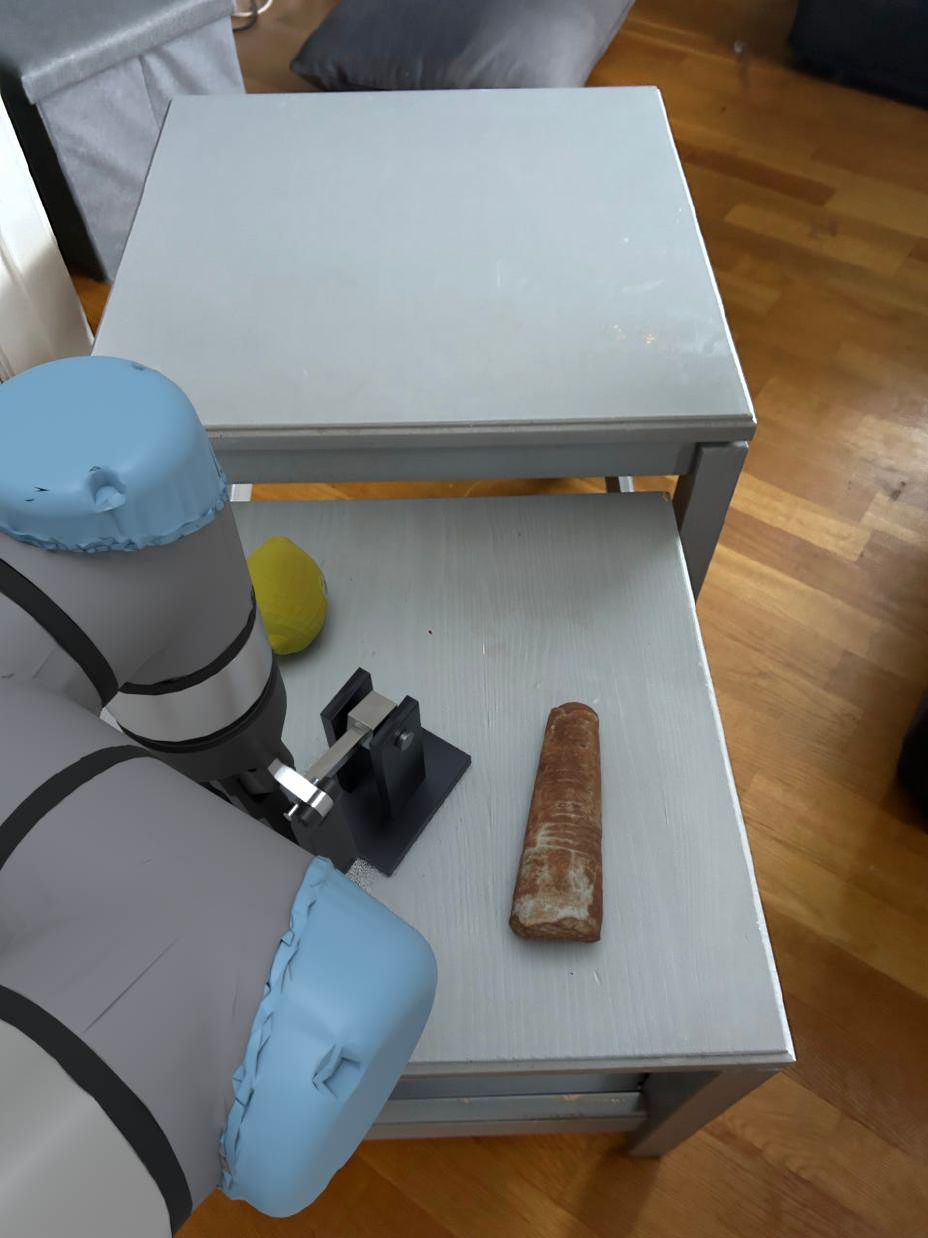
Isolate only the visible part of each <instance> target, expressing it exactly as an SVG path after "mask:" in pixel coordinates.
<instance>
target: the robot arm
mask: <svg viewBox="0 0 928 1238" xmlns="http://www.w3.org/2000/svg"><path fill="white" fill-rule="evenodd" d="M227 480H228V479H227V476H226V474H225V473H224V470H223V469H222V467H221V465H220V464H219V462H218V460H217V457H216V455H215V451H214V449H213V447H212V444H211V441H210V439H209V436H208V433H207V431H206V428H205V427H204V425H203V424H202V422H201V420H200V418H199V415H198V413H197V411H196V408H195V406H194V405H193V403H192V402H191V400H190V398H189V397H188V396H187V393H185V392H184V390H183V389H182V387H180V386H179V385H178V384H177V383H176V382H175V381H173V380H172V379H170V378H169V377H168V376H166V375H164V374H163V373H161V371H159V370H157V369H154V368H151V367H149V366H146V365H144V364H142V363H139V362H138V361H135V360H131V359H127V358H122V357H117V356H110V355H81V356H71V357H66V358H60V359H57V360H52V361H48V362H45V363H42V364H39V365H36V366H34V367H31V368H29V369H26V370H24V371H22V372H19V374H17V375H14V376H11V378H9V379H7V380H6V381H4V382H2V383H1V384H0V1238H174V1237H175V1236H176V1235H177V1233H178V1232H179V1231H180V1230H181V1228H182V1227H183V1226H184V1224H185V1223H186V1222H187V1221H188V1219H189V1218H190V1217H191V1215H192V1213H193V1212H194V1211H195V1210H196V1209H197V1208H198V1207H199V1206H200V1205H201V1204H202V1203H203V1202H204V1201H205V1200H206V1199H207V1198H208V1197H209V1196H210V1195H211V1193H213V1192H214V1191H215V1189H218V1190H219V1191H220V1192H222V1193H223V1194H224V1195H225V1196H226V1197H227V1198H229V1200H231V1201H238V1200H239V1201H245V1202H246V1203H248V1204H249V1205H250V1206H252V1207H253V1208H254V1209H256V1210H257V1211H259V1212H260V1213H261V1214H264V1215H267V1216H269V1217H271V1218H281V1219H282V1218H287V1217H288V1218H289V1217H292V1216H293V1215H296V1214H298V1213H300V1212H301V1211H302V1210H304V1209H305V1208H307V1207H309V1206H310V1205H312V1204H313V1203H314V1202H315V1200H317V1198H318V1197H319V1196H320V1195H321V1194H322V1193H323V1192H324V1191H325V1190H326V1188H327V1187H328V1185H329V1184H330V1181H331V1180H332V1178H333V1177H334V1175H335V1174H336V1173H337V1171H339V1170H340V1169H342V1168H343V1167H344V1165H346V1163H347V1162H348V1161H349V1159H351V1157H352V1156H353V1154H354V1153H355V1152H356V1150H357V1148H358V1147H359V1145H360V1144H361V1142H362V1141H363V1140H364V1138H365V1137H366V1135H367V1133H368V1132H369V1130H370V1129H371V1127H372V1125H374V1122H375V1121H376V1119H377V1118H378V1116H379V1114H380V1113H381V1111H382V1110H383V1108H384V1106H385V1105H386V1103H387V1101H388V1099H389V1098H390V1096H391V1094H392V1092H393V1091H394V1089H395V1087H396V1085H397V1083H398V1082H399V1080H400V1078H401V1076H402V1074H403V1073H404V1071H405V1070H406V1068H407V1066H408V1064H409V1061H410V1060H411V1058H412V1056H413V1054H414V1052H415V1049H416V1047H417V1046H418V1044H419V1041H420V1039H421V1037H422V1034H423V1033H424V1031H425V1028H426V1025H427V1023H428V1020H429V1017H430V1015H431V1012H432V1009H433V1006H434V1002H435V997H436V992H437V986H438V977H439V970H438V962H437V959H436V956H435V953H434V950H433V949H432V946H431V945H430V943H429V942H428V940H427V939H426V938H425V937H424V935H423V934H422V933H421V932H420V931H419V930H418V929H417V928H416V927H414V926H413V925H411V924H410V923H409V922H407V921H406V920H404V919H403V918H402V917H401V916H399V915H398V914H397V913H395V911H393V910H391V909H390V908H389V907H388V906H387V905H385V904H384V903H382V902H381V901H380V900H379V899H377V898H376V897H374V896H373V895H372V894H371V893H370V892H368V891H367V890H365V889H364V888H363V887H361V886H360V885H359V884H357V882H355V881H354V880H353V879H352V878H350V877H349V876H347V874H348V872H350V870H351V868H352V867H353V866H354V864H355V863H356V862H357V860H358V859H359V858H360V857H359V854H358V851H357V848H356V845H355V843H354V840H353V837H352V834H351V832H350V829H349V826H348V823H347V821H346V818H345V815H344V812H343V810H342V807H341V804H340V801H339V800H340V797H341V795H342V793H343V789H342V787H341V786H340V785H339V783H338V782H337V781H336V780H335V779H333V778H331V777H327V776H324V777H323V778H322V779H321V780H320V779H319V778H317V777H313V778H312V779H311V780H310V782H309V781H308V780H306V779H305V778H304V777H302V776H303V775H301V774H300V773H299V772H297V771H298V770H297V768H296V766H295V758H294V755H293V754H292V752H291V751H290V749H288V747H287V746H286V745H285V743H284V742H283V739H282V736H283V731H284V726H285V720H286V715H287V707H288V697H287V690H286V686H285V682H284V679H283V676H282V673H281V669H280V666H279V663H278V660H277V656H276V654H275V652H274V650H273V648H272V646H271V643H270V640H269V637H268V634H267V631H266V628H265V625H264V622H263V619H262V615H261V612H260V609H259V606H258V603H257V600H256V596H255V591H254V586H253V584H252V580H251V577H250V573H249V569H248V566H247V562H246V560H247V559H246V555H245V552H244V548H243V544H242V540H241V537H240V534H239V533H240V532H239V529H238V526H237V523H236V518H235V515H234V511H233V508H232V504H231V501H230V500H231V499H230V496H229V488H228V487H229V486H228V484H227V483H228V481H227ZM103 709H106V711H107V712H108V713H109V714H110V716H112V718H114V720H115V722H116V724H117V725H118V727H119V728H120V730H119V729H117V727H114V726H113V725H111V724H110V723H109V722H107V721H105V720H104V719H102V718H100V717H99V716H98V715H99V714H100V713H101V712H102V711H103ZM228 798H229V800H230V801H231V802H232V803H233V805H234V806H233V805H231V804H230V803H228V802H227V801H225V800H226V799H228ZM257 820H258V821H257Z"/></svg>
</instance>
